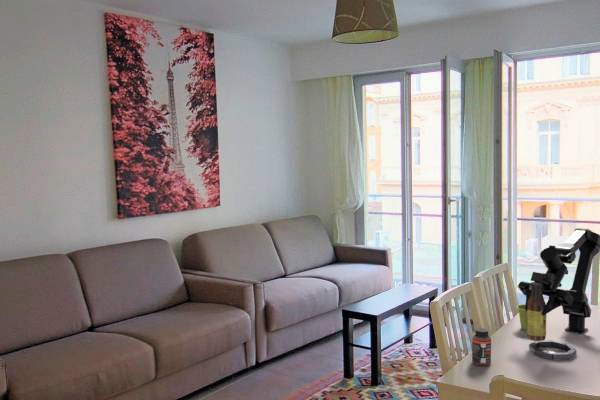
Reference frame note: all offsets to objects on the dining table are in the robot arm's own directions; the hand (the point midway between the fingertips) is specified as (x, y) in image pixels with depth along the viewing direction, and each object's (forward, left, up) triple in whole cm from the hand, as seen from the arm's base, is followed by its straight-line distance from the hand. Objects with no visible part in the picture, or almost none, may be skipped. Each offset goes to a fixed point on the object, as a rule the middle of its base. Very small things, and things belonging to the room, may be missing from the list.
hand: (534, 312), depth 202 cm
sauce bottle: (-1, 0, -10) cm, 10 cm away
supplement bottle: (+24, -7, -13) cm, 28 cm away
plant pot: (-21, -11, -13) cm, 27 cm away
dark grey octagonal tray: (-1, +6, -13) cm, 15 cm away
